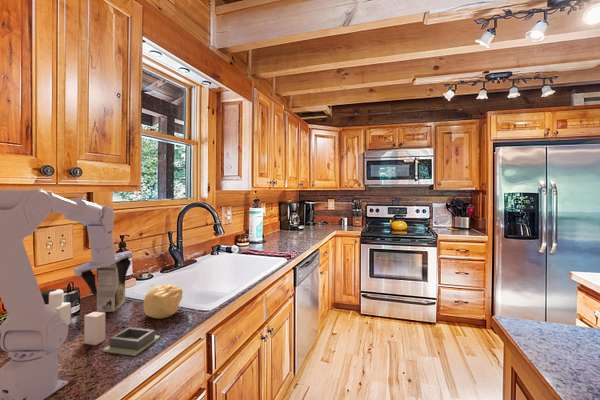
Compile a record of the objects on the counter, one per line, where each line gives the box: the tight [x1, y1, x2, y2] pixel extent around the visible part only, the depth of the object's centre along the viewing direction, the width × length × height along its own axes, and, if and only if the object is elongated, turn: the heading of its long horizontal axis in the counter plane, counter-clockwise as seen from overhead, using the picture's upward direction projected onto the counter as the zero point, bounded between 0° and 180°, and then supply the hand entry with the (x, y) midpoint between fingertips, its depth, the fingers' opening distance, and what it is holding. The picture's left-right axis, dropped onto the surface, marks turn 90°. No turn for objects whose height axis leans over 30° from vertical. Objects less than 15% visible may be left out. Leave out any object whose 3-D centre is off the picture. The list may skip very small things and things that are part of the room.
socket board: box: [102, 326, 161, 357], centre depth 83 cm, size 10×10×3 cm
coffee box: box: [96, 263, 126, 313], centre depth 109 cm, size 9×6×16 cm
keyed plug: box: [83, 311, 106, 346], centre depth 84 cm, size 3×5×8 cm, turn 80°
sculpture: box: [143, 283, 183, 319], centre depth 103 cm, size 12×12×11 cm
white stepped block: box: [40, 288, 72, 326], centre depth 91 cm, size 7×7×12 cm
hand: (108, 287), depth 87 cm, fingers open, 7 cm apart
